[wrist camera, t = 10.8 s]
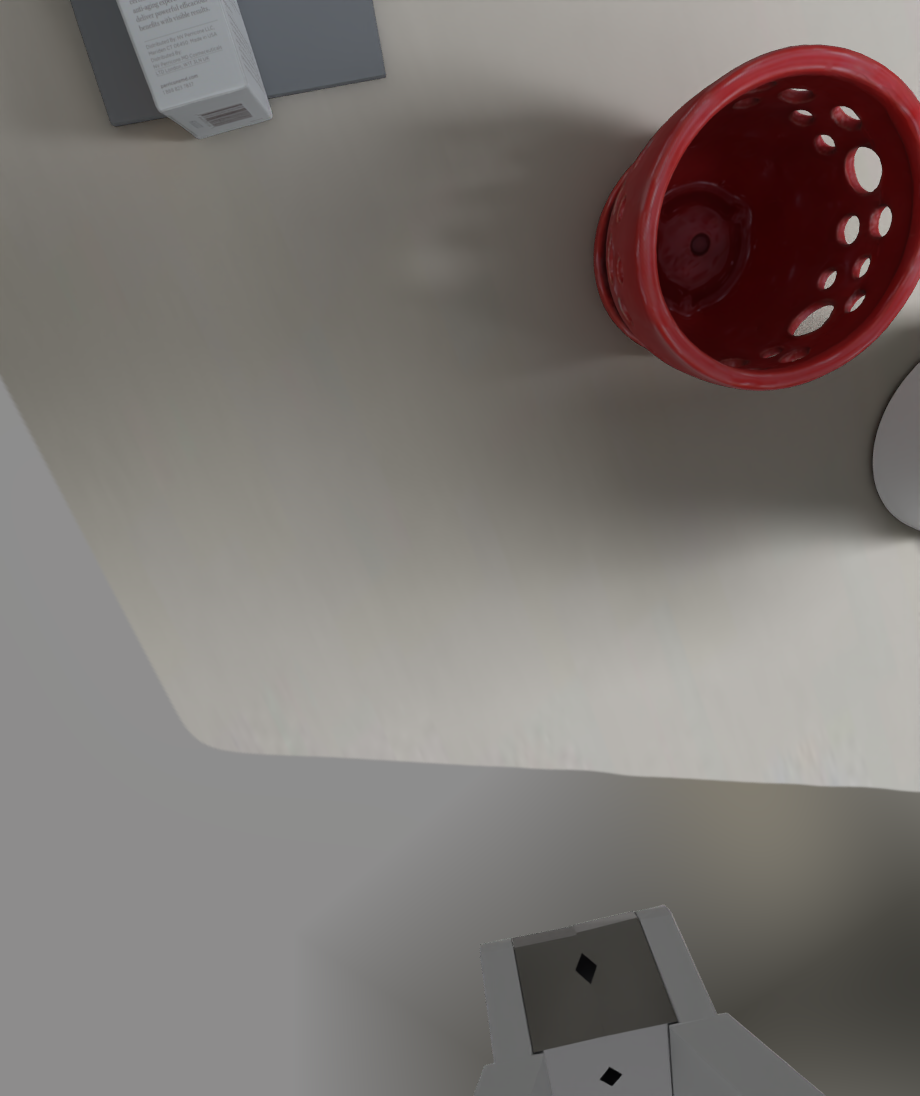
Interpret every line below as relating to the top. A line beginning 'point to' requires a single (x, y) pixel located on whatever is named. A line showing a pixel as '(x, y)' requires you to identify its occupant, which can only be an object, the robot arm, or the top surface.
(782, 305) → the plant pot
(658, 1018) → the robot arm
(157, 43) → the skincare box
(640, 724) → the top surface
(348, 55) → the slate mat
